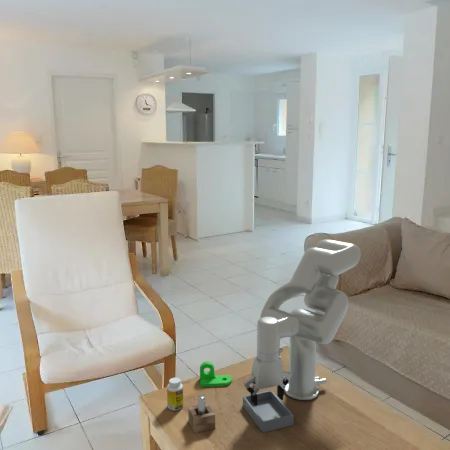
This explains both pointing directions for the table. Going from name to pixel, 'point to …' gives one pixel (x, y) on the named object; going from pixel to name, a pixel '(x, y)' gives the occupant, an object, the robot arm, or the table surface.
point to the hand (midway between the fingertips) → (267, 400)
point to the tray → (268, 411)
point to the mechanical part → (212, 377)
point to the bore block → (201, 419)
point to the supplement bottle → (175, 394)
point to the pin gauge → (201, 405)
